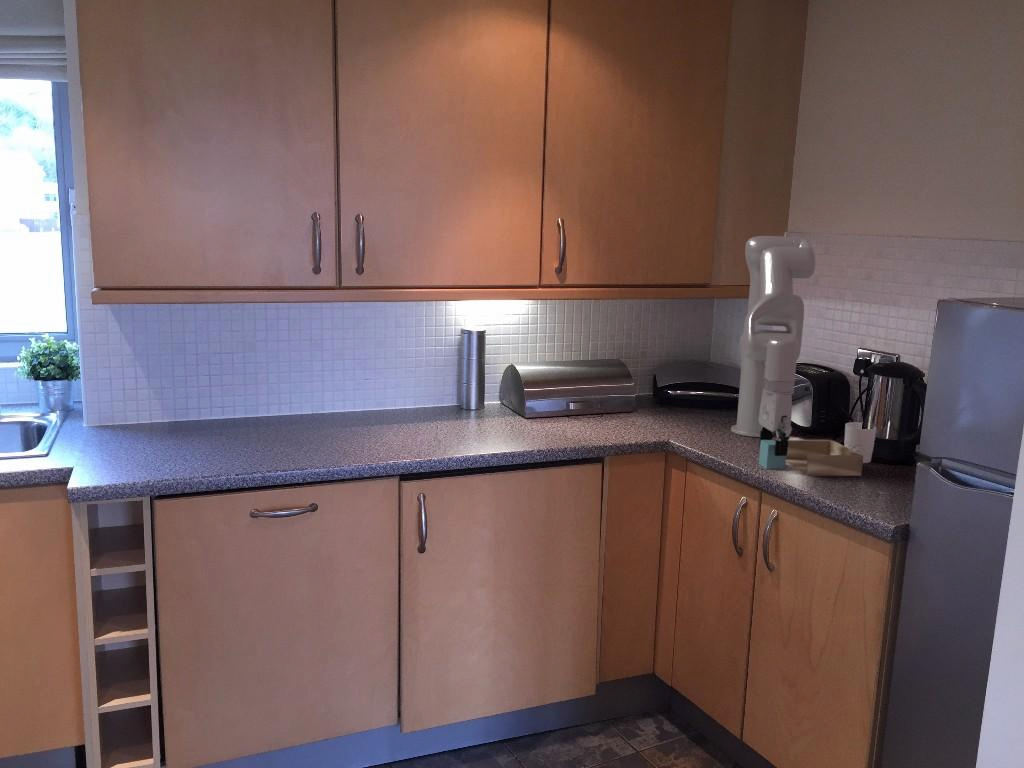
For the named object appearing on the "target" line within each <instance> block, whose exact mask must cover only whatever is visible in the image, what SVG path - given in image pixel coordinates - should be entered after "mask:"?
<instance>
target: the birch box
mask: <svg viewBox="0 0 1024 768" xmlns="http://www.w3.org/2000/svg"><path fill="white" fill-rule="evenodd" d="M785 463H787V464H789V465H790V466H793V467H794V468H795V469H797V470H798V471H800V472H801V473H803V474H805V475H806V476H808V477H810V476H811V477H812V476H814V477H817V476H818V477H827V476H828V477H830V476H831V477H833V476H835V477H836V476H837V477H838V476H845V477H847V476H848V477H849V476H851V477H854V476H860V477H861V476H862V473H863V465H864V463H863V456H862V455H860V454H858V453H856V452H854V451H852V450H850V449H849V448H847V447H845V446H844V445H843V444H841V443H839V442H837V441H835V440H834V439H789V441H788V451H787V455H786V462H785Z"/></svg>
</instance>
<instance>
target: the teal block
mask: <svg viewBox="0 0 1024 768" xmlns="http://www.w3.org/2000/svg"><path fill="white" fill-rule="evenodd" d="M776 440H777V439H772V440H761V444H759V445H760V446H759V456H758V457H759V459H758V464H759V465H760V467H763V468H764V469H765V470H785V469H786V463H787V462H786V456H775V455H774V452H775V441H776Z"/></svg>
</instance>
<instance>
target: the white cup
mask: <svg viewBox="0 0 1024 768" xmlns="http://www.w3.org/2000/svg"><path fill="white" fill-rule="evenodd" d="M862 423H863V422H857V421H852V422H847V423H845V424H844V425H845V427H844V439H843V440H844V442H843V443H844V445H843V446H845V447H847V448H849V449H850V450H852V451H854V452H856V453H858V454H860V455H862V456H863V464H868V463H871V461H872V458H873V457H872V456H873V455H872V454H873V451H874V447H875V442H874V441H875V440H876V435H877V429H876V428H873V429H862ZM875 434H876V435H875Z"/></svg>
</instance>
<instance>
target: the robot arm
mask: <svg viewBox="0 0 1024 768" xmlns="http://www.w3.org/2000/svg"><path fill="white" fill-rule="evenodd" d="M744 247H745V248H744V249H745V250H744V254H745V255H744V256H745V261H746V266H747V268H748V272H749V278H750V281H749V290H748V291H749V294H748V306H747V314H746V316H745V318H744V319H745V320H744V322H743V331H742V332H743V333H742V335H741V337H740V340H739V341H740V342H739V350H740V380H739V390H738V391H739V393H738V403H737V404H738V405H737V418H736V424H733V425H731V428H730V431H731V432H732V433H733V434H736V435H739V436H740V435H741V436H744V437H745V436H746V437H751V438H759V445H760V444H761V440H773V435H774V433H775V434H776V439H775V440H776V441H775V452H774V455H775V456H786V455H787V451H788V441H789V440H790V437H791V433H792V431H793V427H792V425H791V424H792V412H793V411H792V410H793V399H792V397H793V396H792V395H793V394H794V393H795V382H796V370H797V361H798V359H799V358H800V354H801V348H802V340H803V330H804V319H805V303H804V301H803V299H802V297H801V296H800V295H797V294H794V288H793V286H794V285H793V279H810V278H811V277H813V275H814V274H815V270H816V264H817V263H816V255H815V252H814V248H813V247H812V245H811V243H810V241H809V239H807V238H805V237H800V236H782V235H780V236H779V235H778V236H777V235H759V236H753V237H750V238H749V239H748V240H747V241H746V242H745V246H744ZM755 325H757V326H769V327H785V329H786V330H776V329H764V328H763V329H761V328H760V329H759V328H758V329H757V328H756V329H755Z"/></svg>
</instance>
